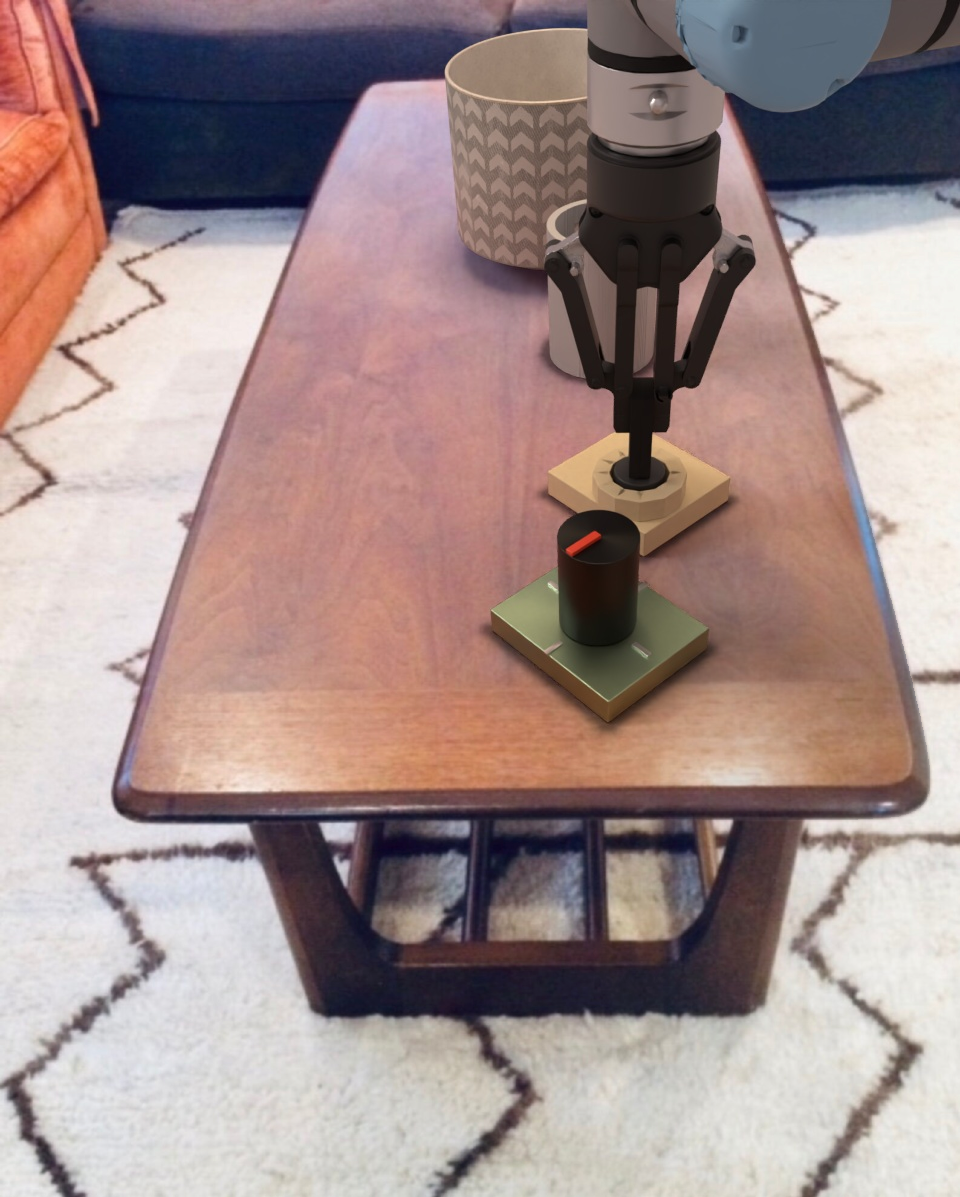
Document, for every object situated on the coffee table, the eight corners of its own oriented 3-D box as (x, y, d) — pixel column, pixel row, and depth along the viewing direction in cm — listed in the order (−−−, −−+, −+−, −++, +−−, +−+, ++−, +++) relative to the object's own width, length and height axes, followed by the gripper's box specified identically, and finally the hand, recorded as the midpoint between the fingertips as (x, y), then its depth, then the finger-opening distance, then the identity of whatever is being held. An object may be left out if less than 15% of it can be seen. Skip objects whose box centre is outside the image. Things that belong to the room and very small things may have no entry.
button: (674, 488, 79) (675, 469, 78) (639, 511, 77) (640, 491, 76) (638, 467, 81) (639, 447, 80) (603, 488, 80) (603, 469, 78)
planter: (469, 307, 104) (452, 112, 92) (453, 219, 118) (437, 39, 106) (666, 285, 105) (677, 88, 92) (628, 200, 119) (633, 19, 106)
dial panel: (708, 648, 71) (710, 625, 70) (606, 724, 67) (607, 701, 66) (589, 566, 77) (589, 543, 76) (490, 631, 73) (488, 608, 72)
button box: (728, 500, 82) (733, 457, 79) (641, 558, 78) (643, 515, 75) (631, 444, 87) (632, 401, 85) (545, 495, 83) (544, 453, 81)
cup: (621, 390, 93) (624, 258, 84) (530, 362, 97) (525, 233, 88) (671, 339, 98) (679, 210, 90) (583, 315, 102) (583, 189, 94)
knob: (598, 580, 73) (599, 494, 68) (652, 618, 70) (658, 532, 65) (543, 616, 71) (539, 531, 66) (597, 658, 68) (597, 572, 63)
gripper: (534, 161, 60) (545, 499, 76) (779, 154, 58) (736, 499, 75) (540, 108, 65) (549, 434, 81) (765, 100, 63) (728, 434, 80)
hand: (639, 465), depth 78 cm, fingers closed
